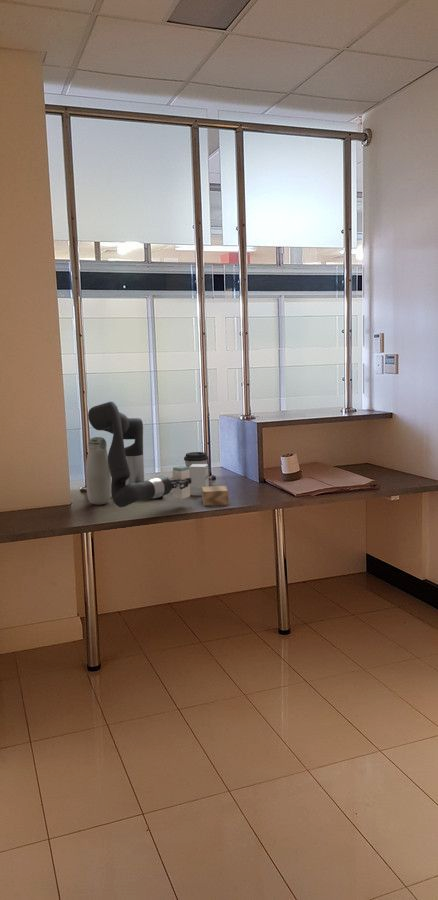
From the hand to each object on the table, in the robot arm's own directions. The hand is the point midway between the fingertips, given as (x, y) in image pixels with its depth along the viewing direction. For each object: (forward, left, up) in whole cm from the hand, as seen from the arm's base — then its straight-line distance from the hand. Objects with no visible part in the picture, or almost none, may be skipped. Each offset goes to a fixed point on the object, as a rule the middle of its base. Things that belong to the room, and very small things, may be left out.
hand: (185, 479), depth 286 cm
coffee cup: (-2, +38, -11) cm, 40 cm away
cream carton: (-1, -2, -7) cm, 7 cm away
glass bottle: (-36, 0, -11) cm, 38 cm away
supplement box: (+2, +21, -11) cm, 24 cm away
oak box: (+11, +5, -11) cm, 16 cm away
